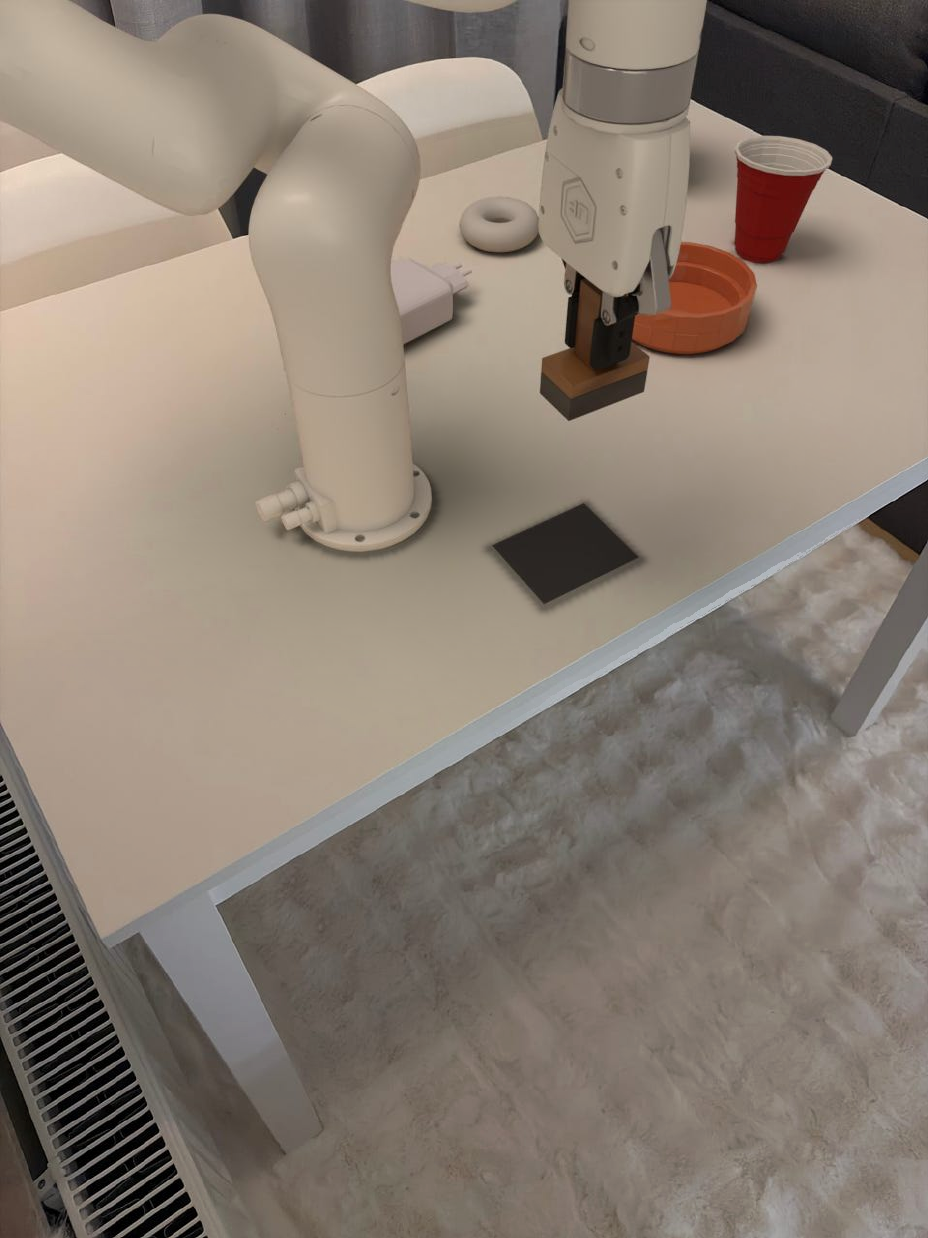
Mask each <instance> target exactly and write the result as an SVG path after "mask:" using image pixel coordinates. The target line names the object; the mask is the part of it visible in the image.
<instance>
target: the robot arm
mask: <svg viewBox="0 0 928 1238" xmlns="http://www.w3.org/2000/svg"><path fill="white" fill-rule="evenodd" d="M404 1H406V2H409V3H412V4H417V5H420V6H425V7H428V8H429V7H430V8H434V9H438V10H442V11H449V12H455V13H465V14H466V13H467V14H468V13H469V14H472V13H488V12H492V11H496V10H497V11H498V10H500V9H503V8H506V7H508V6H510V5H511V4H514V3H515V2H517V1H518V0H404ZM567 3H568V4H567V17H566V32H565V50H564V66H563V80H562V87H561V88H560V89H559V91H558V92H557V96H556V99H555V103H554V106H553V110H552V113H551V120H550V123H549V128H548V133H547V139H546V144H545V151H544V152H545V153H544V159H543V164H542V165H543V166H542V175H541V185H540V194H539V205H538V206H539V207H538V217H539V230H538V235H539V237H540V239H541V240H542V242H543V243H544V245H545V246H547V248H549V249H550V250H551V251H552V252H553V253H555V255H557V257H559V258H560V259H561V261H562V264H563V267H564V279H563V286H564V287H563V288H564V290H565V293H567V294H568V295H569V297H567V307H566V319H565V320H566V321H565V332H564V345H566V346H567V347H568V349H569V348H574V347H575V336H576V326H577V315H578V304H579V294H580V283H581V280H583V279H588V280H589V281H590V282H591V283H593V284H594V285H595V286H597V287H598V288H599V289H601V290H602V291H603V293H602V305H601V317H600V318H597V319H594V325H593V334H592V343H591V352H590V361H589V362H590V366H591V367H592V368H593V369H594V370H600V369H602V368H605V367H608V366H610V365H613V364H616V363H618V362H621V361H624V360H626V359H627V358H628V357H629V355H630V348H631V342H633V340H632V335H633V328H634V321H635V316H637V315H640V314H641V315H652V316H653V315H656V314H659V313H662V312H664V311H667V310H669V309H670V308H671V297H670V288H669V279H670V278H671V276H672V274H673V272H674V269H675V266H676V263H677V259H678V255H679V250H680V245H681V242H682V239H683V233H684V225H685V218H686V210H687V202H688V192H689V191H688V190H689V180H690V178H689V177H690V161H691V160H690V159H691V121H690V120H689V119H688V117H687V116H688V114H689V110H690V104H691V100H692V99H691V98H692V92H693V88H694V80H695V74H696V68H697V63H698V57H699V50H700V45H701V40H702V33H703V28H704V27H703V26H704V21H705V16H706V9H707V3H708V0H568V2H567ZM0 122H2V123H4V124H7V125H9V126H11V127H13V128H14V129H17V130H19V131H21V132H23V133H25V134H26V135H28V136H31V137H33V138H34V139H37V140H38V141H40V142H42V143H43V144H45V145H46V146H48V147H50V148H52V149H53V150H55V151H57V152H58V153H61V154H62V155H64V156H66V157H68V158H70V159H72V160H74V161H75V162H77V163H79V164H80V165H83V166H85V167H86V168H88V169H90V170H92V171H94V172H96V173H98V174H100V175H102V176H104V178H105V177H106V178H107V179H110V180H111V181H113V182H115V183H116V184H119V185H121V186H122V187H124V188H126V189H128V190H130V191H132V192H133V193H135V194H137V195H139V196H141V197H143V198H145V199H146V200H149V201H151V202H153V203H155V204H157V205H158V206H159V207H163V208H165V209H168V210H170V211H171V212H175V213H178V214H181V215H184V216H189V217H190V216H191V217H196V216H205V215H209V214H211V213H213V212H214V211H216V210H218V209H219V208H221V207H222V206H223V205H224V204H226V203H227V202H228V201H229V200H230V199H231V198H232V196H233V195H234V194H235V193H236V192H237V190H238V189H239V187H240V186H241V185H242V184H243V183H244V181H246V179H247V177H248V176H249V175H250V173H251V172H252V170H253V169H254V168H255V169H256V170H257V171H259V172H262V173H263V174H266V176H265V179H264V180H263V182H262V184H261V185H260V188H259V189H258V191H257V194H256V196H255V198H254V201H253V204H252V207H251V210H250V211H251V212H250V216H249V222H248V247H249V252H250V258H251V262H252V264H253V267H254V270H255V273H256V276H257V278H258V282H259V283H260V286H261V288H262V290H263V293H264V295H265V298H266V301H267V304H268V307H269V310H270V313H271V315H272V319H273V323H274V327H275V331H276V334H277V339H278V345H279V349H280V354H281V359H282V365H283V369H284V373H285V376H286V382H287V386H288V392H289V396H290V397H289V398H290V402H291V407H292V413H293V417H294V423H295V428H296V433H297V437H298V445H299V448H300V453H301V459H302V463H303V465H301V466H300V467H297V468H295V469H294V475H295V480H296V481H294V482H291V483H289V484H287V487H286V490H284V491H281V492H278V493H272V494H270V495H267V496H265V497H263V498H260V499H258V500H256V501H255V506H256V509H257V511H258V514H259V516H260V517H261V519H262V521H264V522H266V521H269V520H271V519H274V518H276V517H279V516H281V521H282V524H283V526H284V528H285V529H286V530H287V531H290V530H292V529H295V528H297V527H300V528H301V529H302V531H304V533H305V534H306V535H307V536H308V537H309V538H311V539H313V540H314V541H315V542H317V543H319V544H321V545H324V546H325V547H328V548H331V549H335V550H339V551H345V552H369V551H370V552H371V551H378V550H382V549H385V548H388V547H392V546H394V545H396V544H399V543H401V542H403V541H405V540H407V538H409V537H411V536H412V535H414V534H415V533H416V532H417V531H418V530H419V529H420V528H422V526H423V525H424V523H425V522H426V521H427V519H428V517H429V515H430V512H431V509H432V504H433V495H432V487H431V483H430V481H429V479H428V477H427V475H426V473H424V471H423V470H422V469H421V468H420V467H419V466H418V465H417V464H415V463H414V462H413V451H412V437H411V436H412V435H411V423H410V410H409V397H408V384H407V383H408V382H407V371H406V357H405V348H404V344H403V334H402V326H401V319H400V313H399V308H398V304H397V301H396V297H395V294H394V290H393V286H392V281H391V261H392V258H393V252H394V248H395V245H396V242H397V240H398V239H399V235H400V233H401V231H402V228H403V225H404V223H405V220H406V218H407V216H408V214H409V212H410V210H411V208H412V205H413V202H414V201H415V197H416V196H417V192H418V188H419V186H420V180H421V169H422V167H421V156H420V152H419V148H418V146H417V145H418V144H417V142H416V140H415V138H414V136H413V134H412V132H411V130H410V129H409V127H408V126H407V124H406V123H405V121H404V120H403V119H402V118H401V117H400V116H399V114H398V113H396V111H394V110H393V109H392V108H391V107H390V106H389V105H387V104H386V103H385V102H384V101H382V100H381V99H379V98H378V97H377V96H375V95H374V94H372V93H371V92H369V91H368V90H366V89H365V88H363V87H361V86H359V85H358V84H356V83H354V82H353V81H351V80H350V79H347V78H346V77H344V76H343V75H341V74H340V73H338V72H337V71H334V70H333V69H332V68H329V67H327V66H326V65H324V64H323V63H321V62H319V61H318V60H316V59H314V58H312V57H311V56H309V55H308V54H306V53H304V52H302V51H301V50H299V49H297V48H296V47H295V46H292V45H291V44H289V43H288V42H286V41H284V40H282V39H281V38H279V37H277V36H276V35H274V34H272V33H271V32H269V31H267V30H265V29H263V28H261V27H259V26H258V25H256V24H253V23H252V22H249V21H246V20H244V19H241V18H237V17H234V16H229V15H225V14H218V13H203V14H197V15H194V16H190V17H188V18H185V19H183V20H181V21H179V22H177V23H176V24H174V25H173V26H172V27H170V29H168V30H167V31H166V32H165V33H164V34H163V35H162V36H161V37H159V38H158V39H157V40H155V41H147V40H145V39H142V38H139V37H136V36H134V35H132V34H131V33H128V32H127V31H123V30H122V29H119V28H117V27H116V26H114V25H111V24H110V23H108V22H106V21H104V20H102V19H100V18H99V17H98V16H96V15H94V14H92V13H91V12H89V11H88V10H86V9H85V8H83V7H81V6H80V5H78V4H76V3H74V2H73V1H71V0H0ZM627 293H628V296H626V297H624V298H622V299H621V300H619V297H620V296H623V295H624V294H627ZM293 509H294V510H293ZM290 510H293V511H291V512H288V511H290ZM285 512H288V513H286V514H284V513H285Z"/></svg>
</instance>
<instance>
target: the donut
mask: <svg viewBox="0 0 928 1238" xmlns="http://www.w3.org/2000/svg"><path fill="white" fill-rule="evenodd" d="M459 229H460V233H461V235H462V237H463V239H465V241H466V242H467V243H468V244H469V245H471V246H472V247H474V248H476V249H478V250H482V251H485V252H490V253H508V252H514V251H517V250H521V249H523V248H524V247H527V246H529V245H530V244H531V243H532V242H533V241H534V240H535V238H537V236H538V235H539V214H538V213H537V211H536V209H535V208H533V207H532V205H530V204H529V203H528V202H526V201H523V200H521V199H518V198H514V197H510V196H491V197H490V196H489V197H486V198H481V199H478V200H476V201H474V202H472V203H470V204H469V205H468V206H467V207H466V208H465V209H464V210H463V212H462V213H461V216H460V219H459Z"/></svg>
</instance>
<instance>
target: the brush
mask: <svg viewBox="0 0 928 1238" xmlns="http://www.w3.org/2000/svg"><path fill="white" fill-rule="evenodd" d="M602 293H603V291H602V290H601V289H599V288H598V287H597V286H595V285H594V284H593V283H591V282H590V281H589V280H588V279H583V280H581V283H580V294H579V304H578V315H577V326H576V336H575V347H574V348H569V347H568V348H566V349H563V350H561V351H558V352H555V353H553V354H550V355H547V356H544V357H542V359H541V369H540V383H539V394H540V396H542V397H543V398H544V399H545V400H546V401H547V402H548V403H549V404H550V405H551V406H552V407H553V408H554V409H555V410H556V411H557V412H558V413H559V414H560V415H562V416H563V417H564V419H566V421H568V422H571V421H573V420H576V419H578V418H581V417H584V416H586V415H588V414H592V413H594V412H596V411H599V410H601V409H605V408H606V407H610V406H612V405H614V404H617V403H619V402H622V401H624V400H628V399H630V398H632V397H634V396H638V395H640V394H642V393H645V388H646V383H647V377H648V369H649V363H650V359H651V358H650V355H649V354H647V353H646V352H645V351H643V350H642V348H640V347H639V346H637V345H636V344H635V343H634V342H633V341H632V342H631V348H630V355H629V357H628V358H627V359H626V360H624V361H621V362H618V363H616V364H613V365H610V366H608V367H605V368H602V369H600V370H594V369H593V368H592V367H591V366H590V362H589V361H590V352H591V343H592V334H593V325H594V319H597V318H600V317H601V305H602ZM627 294H628V293H627ZM627 294H624V295H623V296H620V297H619V300H621V299H622V298H624V297H626V296H627Z"/></svg>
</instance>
